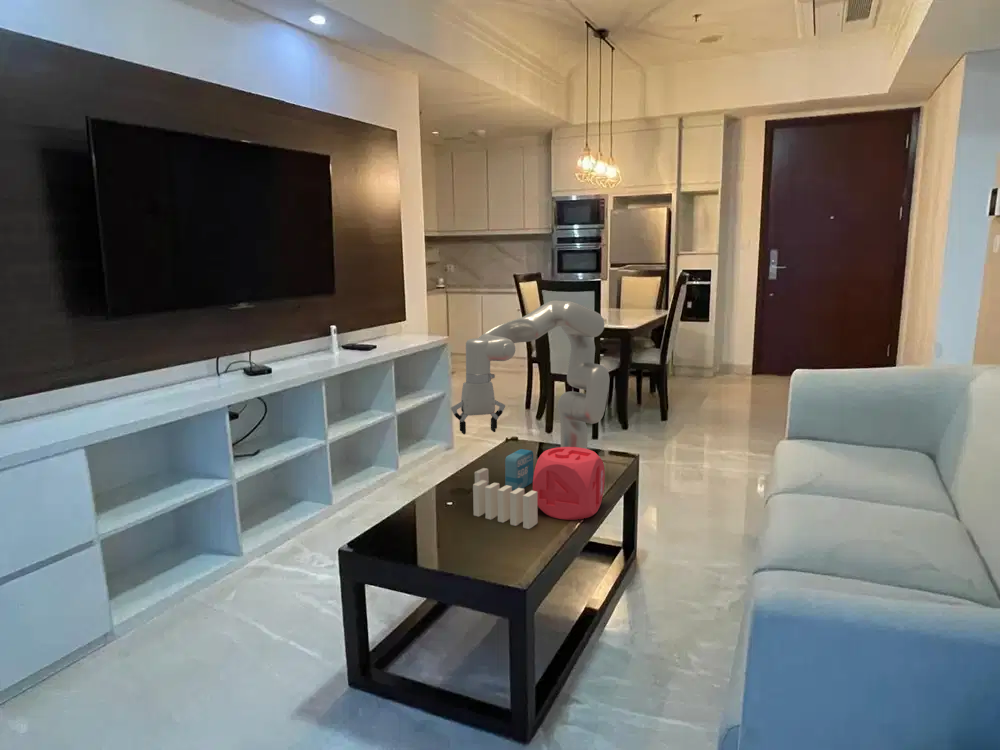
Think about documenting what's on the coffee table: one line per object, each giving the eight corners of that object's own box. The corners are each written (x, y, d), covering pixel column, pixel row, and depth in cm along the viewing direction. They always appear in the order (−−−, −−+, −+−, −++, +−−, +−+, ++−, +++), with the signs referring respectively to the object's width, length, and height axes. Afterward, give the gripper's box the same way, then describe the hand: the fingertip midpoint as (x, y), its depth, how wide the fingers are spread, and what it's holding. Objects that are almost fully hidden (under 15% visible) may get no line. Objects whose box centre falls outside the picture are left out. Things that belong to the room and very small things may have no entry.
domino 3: (485, 518, 204) (484, 487, 202) (494, 513, 208) (494, 482, 206) (490, 519, 203) (490, 488, 201) (499, 514, 207) (499, 483, 205)
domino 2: (473, 515, 206) (472, 484, 205) (482, 510, 210) (482, 479, 209) (478, 516, 205) (478, 485, 203) (488, 511, 209) (487, 481, 208)
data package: (516, 492, 225) (516, 458, 223) (505, 490, 228) (504, 456, 226) (533, 482, 235) (533, 449, 233) (522, 480, 238) (522, 447, 236)
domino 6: (523, 527, 197) (522, 495, 195) (531, 521, 201) (531, 490, 199) (528, 529, 195) (528, 496, 194) (537, 523, 200) (537, 491, 198)
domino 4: (497, 521, 201) (497, 489, 200) (506, 515, 206) (506, 485, 204) (503, 522, 200) (502, 491, 199) (512, 517, 204) (511, 486, 203)
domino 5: (510, 524, 199) (509, 492, 197) (519, 518, 203) (518, 487, 201) (515, 525, 198) (515, 493, 196) (524, 520, 202) (524, 488, 200)
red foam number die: (588, 524, 198) (588, 466, 195) (532, 515, 206) (531, 459, 203) (604, 503, 214) (605, 450, 211) (552, 496, 222) (552, 444, 219)
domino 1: (475, 501, 218) (474, 472, 216) (483, 496, 222) (483, 467, 220) (480, 502, 217) (479, 473, 215) (489, 497, 221) (488, 468, 219)
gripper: (501, 375, 212) (501, 427, 215) (448, 377, 207) (448, 431, 210) (508, 379, 205) (508, 433, 208) (453, 382, 200) (454, 437, 203)
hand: (478, 432), depth 209 cm, fingers open, 9 cm apart
